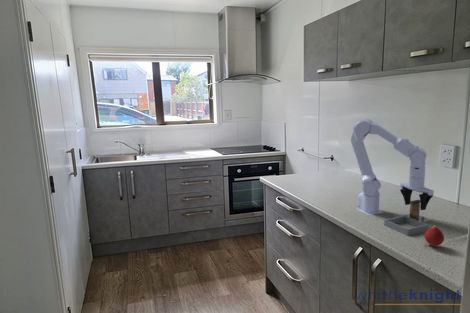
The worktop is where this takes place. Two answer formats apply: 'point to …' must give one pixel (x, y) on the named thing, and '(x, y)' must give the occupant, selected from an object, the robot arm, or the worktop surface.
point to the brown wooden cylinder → (414, 209)
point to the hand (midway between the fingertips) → (415, 207)
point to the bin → (419, 225)
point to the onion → (434, 236)
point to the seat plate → (419, 218)
